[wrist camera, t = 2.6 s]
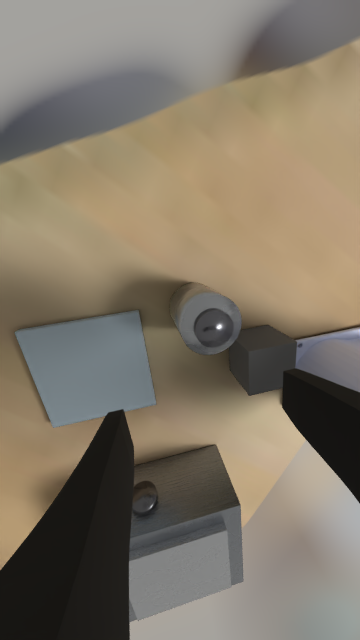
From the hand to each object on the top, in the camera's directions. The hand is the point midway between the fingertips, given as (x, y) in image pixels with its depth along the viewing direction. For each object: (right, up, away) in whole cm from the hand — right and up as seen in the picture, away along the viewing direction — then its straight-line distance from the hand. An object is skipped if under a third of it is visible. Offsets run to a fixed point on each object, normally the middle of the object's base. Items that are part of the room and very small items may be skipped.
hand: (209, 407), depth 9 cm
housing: (-2, -16, +16) cm, 23 cm away
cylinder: (0, +5, +9) cm, 10 cm away
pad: (-9, 0, +9) cm, 12 cm away
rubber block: (+5, +1, +11) cm, 13 cm away
